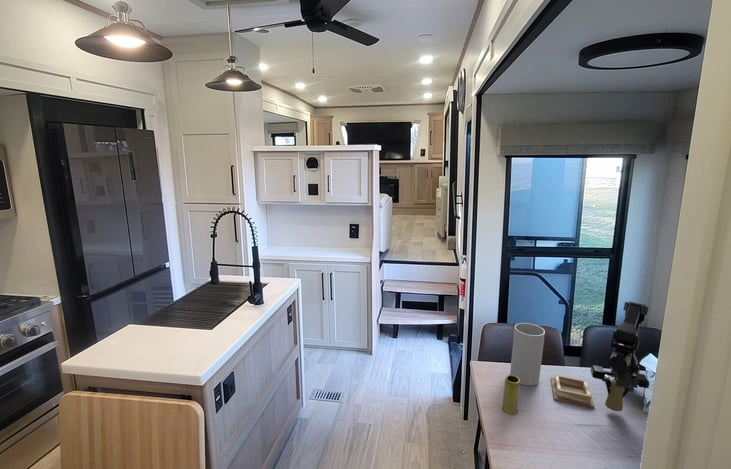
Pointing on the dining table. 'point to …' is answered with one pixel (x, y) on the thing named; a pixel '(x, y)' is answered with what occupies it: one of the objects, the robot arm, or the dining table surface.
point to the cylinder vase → (527, 353)
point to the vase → (511, 395)
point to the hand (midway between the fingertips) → (615, 395)
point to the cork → (615, 397)
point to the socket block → (571, 391)
